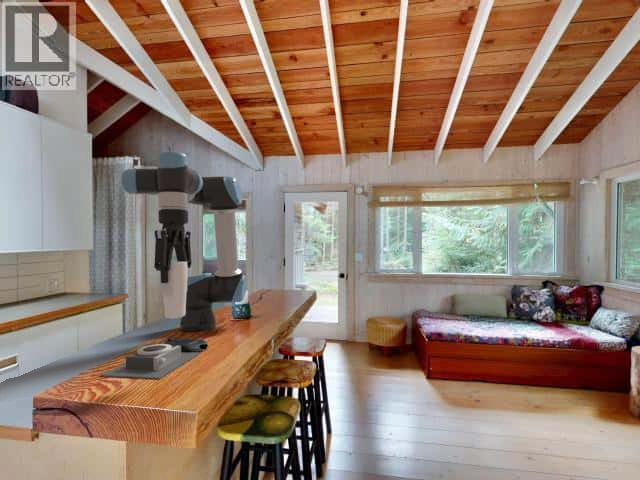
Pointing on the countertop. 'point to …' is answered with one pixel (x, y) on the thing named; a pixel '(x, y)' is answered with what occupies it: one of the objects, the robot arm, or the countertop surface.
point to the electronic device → (187, 344)
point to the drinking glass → (177, 291)
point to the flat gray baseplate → (152, 362)
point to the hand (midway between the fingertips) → (174, 293)
